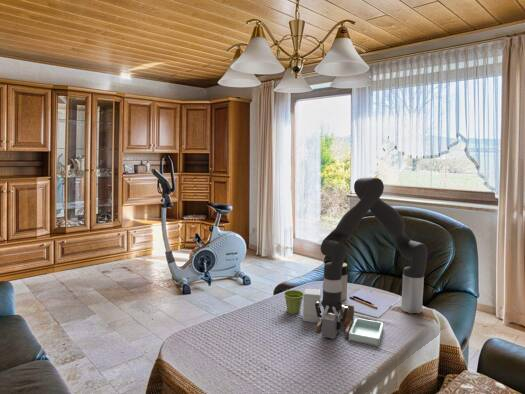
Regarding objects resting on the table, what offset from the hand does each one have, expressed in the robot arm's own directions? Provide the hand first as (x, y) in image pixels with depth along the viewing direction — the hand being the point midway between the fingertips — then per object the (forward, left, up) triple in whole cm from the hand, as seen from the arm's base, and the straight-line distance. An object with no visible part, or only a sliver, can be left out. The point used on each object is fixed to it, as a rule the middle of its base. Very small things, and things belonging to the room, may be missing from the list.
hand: (331, 328), depth 157 cm
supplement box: (-13, -12, -3) cm, 17 cm away
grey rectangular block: (0, 0, -1) cm, 1 cm away
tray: (-7, +13, -3) cm, 15 cm away
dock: (-7, 0, -3) cm, 7 cm away
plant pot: (-17, -22, -3) cm, 27 cm away
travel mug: (-42, -6, -3) cm, 42 cm away
